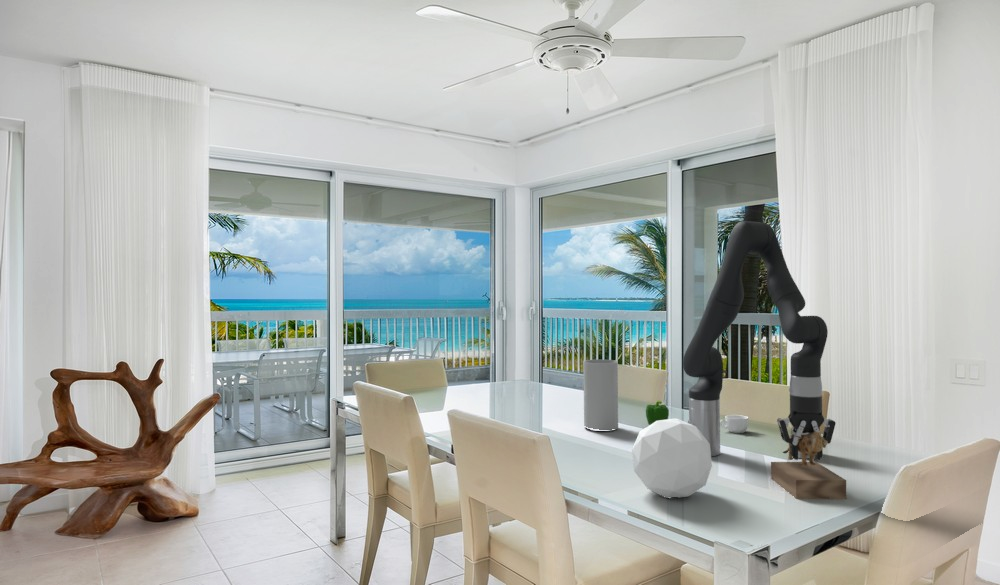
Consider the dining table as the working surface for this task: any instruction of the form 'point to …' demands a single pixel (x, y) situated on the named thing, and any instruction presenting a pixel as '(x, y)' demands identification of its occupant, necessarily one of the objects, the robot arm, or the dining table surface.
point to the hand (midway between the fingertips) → (806, 458)
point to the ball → (672, 458)
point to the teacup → (736, 423)
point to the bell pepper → (656, 412)
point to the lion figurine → (809, 446)
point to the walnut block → (808, 480)
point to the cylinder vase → (601, 394)
